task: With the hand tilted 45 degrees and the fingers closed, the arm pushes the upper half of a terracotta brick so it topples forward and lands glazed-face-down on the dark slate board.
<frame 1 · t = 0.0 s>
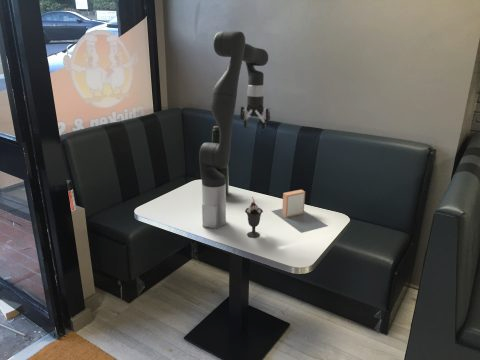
hand: (254, 129, 189), 29 cm above the table, tool pointing down, fingers open, 8 cm apart
slate board: (298, 219, 164), on the table
terracotta brick: (292, 214, 167), point 1 cm above the table, touching slate board
beer bottle: (217, 194, 189), on the table
sundae: (253, 235, 151), on the table
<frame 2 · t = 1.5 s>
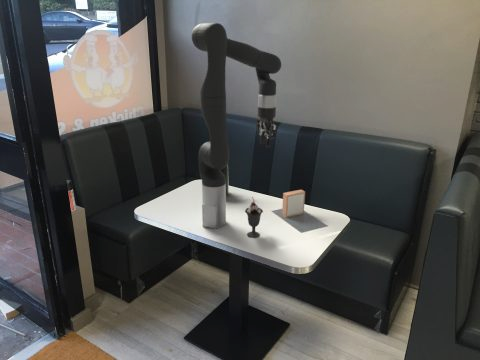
hand: (265, 145, 169), 27 cm above the table, tool pointing down, fingers open, 4 cm apart
nothing on the table moved.
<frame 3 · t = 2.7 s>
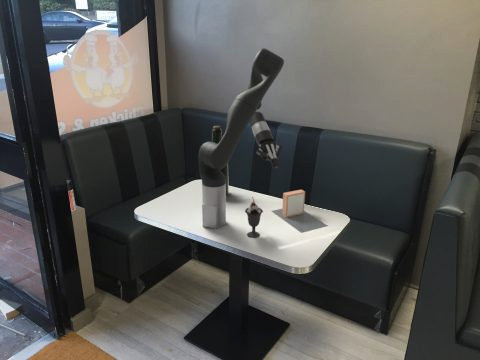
hand: (276, 167, 174), 17 cm above the table, tool tilted 45°, fingers closed
nothing on the table moved.
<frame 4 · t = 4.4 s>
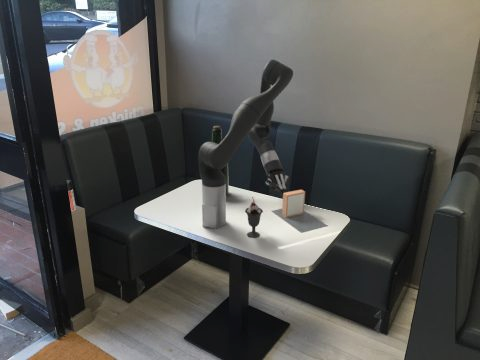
hand: (285, 198, 171), 6 cm above the table, tool tilted 45°, fingers closed
nothing on the table moved.
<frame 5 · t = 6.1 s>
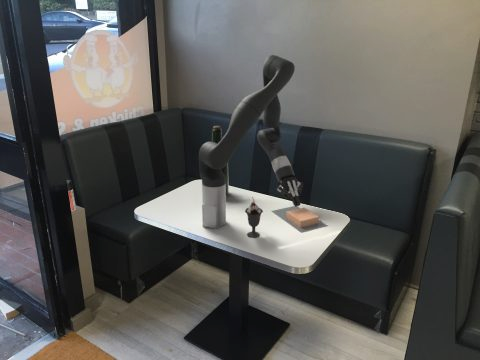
hand: (298, 205, 163), 6 cm above the table, tool tilted 45°, fingers closed
terracotta brick: (295, 212, 165), point 2 cm above the table, tilted 90°, touching slate board
everything else where it was.
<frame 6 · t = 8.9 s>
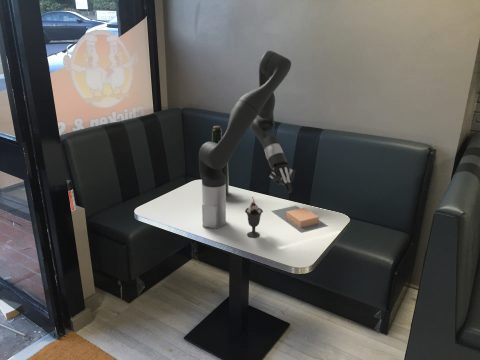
hand: (289, 192, 167), 10 cm above the table, tool tilted 45°, fingers closed
nothing on the table moved.
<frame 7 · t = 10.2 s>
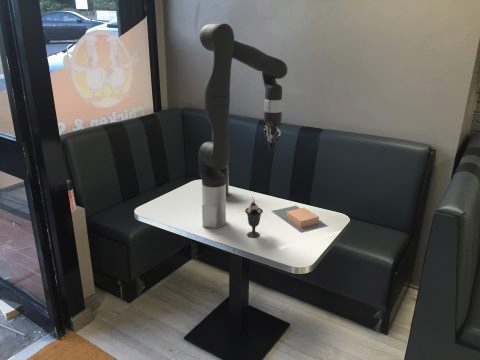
hand: (271, 150, 171), 25 cm above the table, tool pointing down, fingers closed
nothing on the table moved.
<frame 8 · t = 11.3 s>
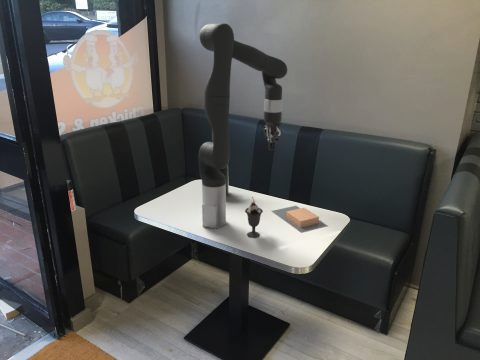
hand: (271, 150, 171), 25 cm above the table, tool pointing down, fingers closed
nothing on the table moved.
at the end: terracotta brick tilted 90°; terracotta brick point 2.2 cm above the table; terracotta brick inside the target area on the slate board (2.6 cm from its centre), point 2.2 cm above the slate board's base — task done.
